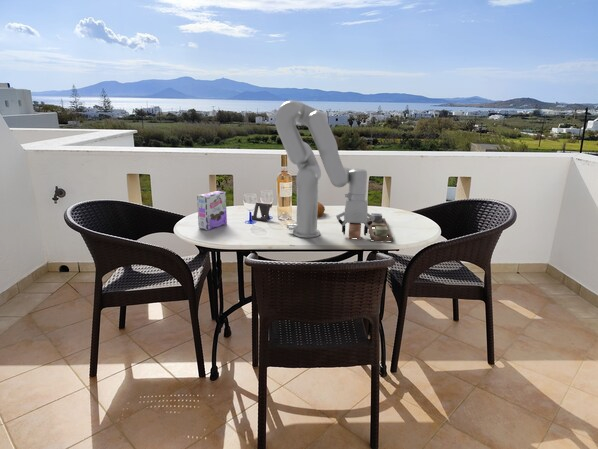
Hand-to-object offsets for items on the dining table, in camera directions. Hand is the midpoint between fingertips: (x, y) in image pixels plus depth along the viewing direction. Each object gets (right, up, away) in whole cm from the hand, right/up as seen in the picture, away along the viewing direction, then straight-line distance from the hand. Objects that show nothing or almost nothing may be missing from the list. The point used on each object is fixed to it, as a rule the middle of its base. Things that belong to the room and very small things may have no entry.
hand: (354, 234), depth 179 cm
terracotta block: (0, -2, 0) cm, 2 cm away
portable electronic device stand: (-45, +7, +27) cm, 53 cm away
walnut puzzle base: (+13, +1, +11) cm, 17 cm away
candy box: (-67, +3, +13) cm, 68 cm away
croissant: (-18, +10, +38) cm, 44 cm away
